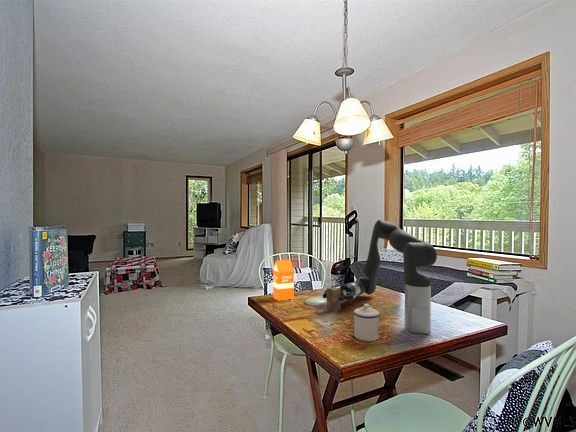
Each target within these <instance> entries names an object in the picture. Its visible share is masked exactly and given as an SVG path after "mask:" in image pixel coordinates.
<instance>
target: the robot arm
mask: <svg viewBox="0 0 576 432" xmlns="http://www.w3.org/2000/svg"><path fill="white" fill-rule="evenodd" d="M379 239H382V240H385V241H388V242H389V245H390V246H391V247H392V248H393V249H394V250H395V251H397V252H399V253H401V254H402V257H403V276H404V277H403V278H404V329H405V330H407V331H409V332H410V333H412V334H413V333H414V334H425V335H429V334H430V332H432V326H431V325H432V324H431V322H432V321H431V316H432V311H431V310H432V305H431V304H432V303H431V301H432V297H431V296H432V292H431V290H432V289H431V287H432V282H431V281H432V279H431V278H430V277H429V276H427V275H423V274H422V273H419V272H418V271H417V268H419V267H421V268H425V267H426V268H427V267H431V266H433V265H434V264H435V263H436V262H437V258H438V253H437V251H436V248H435V247H434V246H433V245H432V244H431V243H429V242H427V241H425V240H422V239H419V238H417V237H415V236H414V235H412V234H410V233H409V232H407V231H406V230H404V229H402V228H400V227H399V226H398V225H397V224H395V223H393V222H390V221H386V220H383V219H379V220H377V221H375V223H374V226H373V229H372V233H371V238H370V244H369V249H368V254H367V259H366V262H365V264H364V267H363V273H364V274H365V276H366V277H367V278H366V277H364V276H358V278H356V280H355V281H353V282H348V283H345V284H342V285H340V287H339V288H340V296H339V302H340V303H341V302H343V301H345V302H346V301H348V302H351V301H353V300H355V299H356V298H357V297H358V296H361V295H362V294H364V293H365V294H367V295H373V294H374V293H375V291H376V287H377V278H378V277H377V275H378V272H379V268H380V266H381V256H380V252H379V248H378V247H379V246H378V243H379ZM322 298H325V299H327V289H325V290H324V292H323V293H322Z"/></svg>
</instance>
